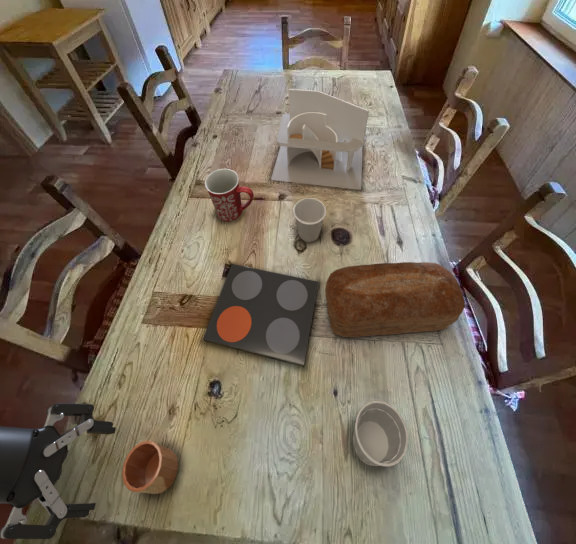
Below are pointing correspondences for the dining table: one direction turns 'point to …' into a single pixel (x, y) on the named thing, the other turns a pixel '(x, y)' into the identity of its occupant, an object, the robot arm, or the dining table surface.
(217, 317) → the stove
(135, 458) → the cup
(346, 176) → the architectural model
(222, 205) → the mug
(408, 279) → the bread
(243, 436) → the dining table surface
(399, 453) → the cup
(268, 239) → the dining table surface
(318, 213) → the dixie cup
